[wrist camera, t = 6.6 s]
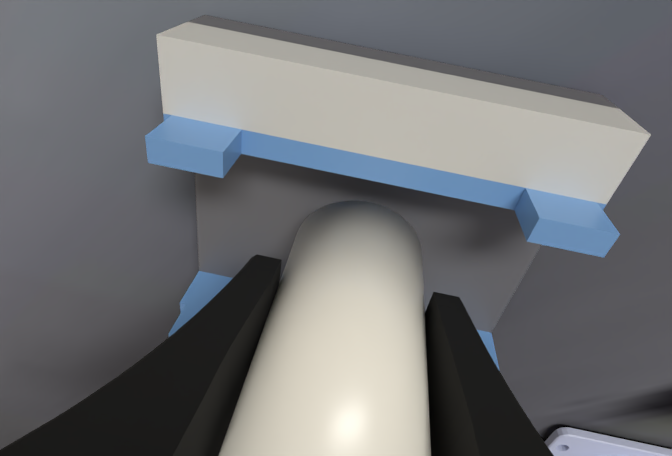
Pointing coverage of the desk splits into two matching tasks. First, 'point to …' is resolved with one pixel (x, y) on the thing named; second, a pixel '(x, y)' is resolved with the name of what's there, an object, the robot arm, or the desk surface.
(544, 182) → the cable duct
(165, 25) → the desk surface
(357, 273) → the cream round-ended cylinder
